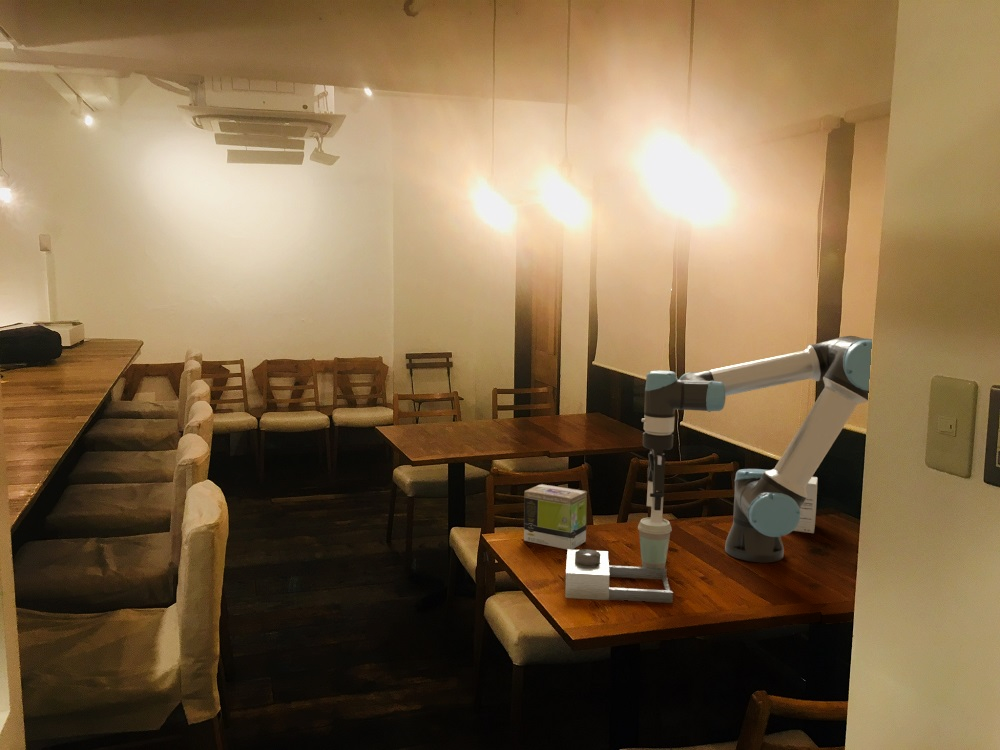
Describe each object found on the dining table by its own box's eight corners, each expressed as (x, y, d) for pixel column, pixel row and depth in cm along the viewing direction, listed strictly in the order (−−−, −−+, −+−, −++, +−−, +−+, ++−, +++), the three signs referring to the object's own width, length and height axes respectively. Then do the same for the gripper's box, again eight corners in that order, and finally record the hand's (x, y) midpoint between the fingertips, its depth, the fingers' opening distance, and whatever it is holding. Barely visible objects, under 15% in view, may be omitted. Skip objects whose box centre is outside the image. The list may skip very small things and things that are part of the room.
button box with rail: (665, 577, 200) (667, 546, 199) (672, 603, 184) (673, 570, 183) (567, 572, 202) (567, 541, 201) (565, 597, 187) (566, 564, 186)
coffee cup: (670, 574, 202) (672, 528, 200) (635, 571, 204) (637, 525, 202) (670, 562, 210) (672, 517, 209) (637, 559, 212) (638, 515, 210)
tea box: (586, 541, 226) (588, 490, 224) (570, 551, 217) (571, 498, 215) (540, 531, 234) (541, 482, 232) (522, 541, 225) (523, 490, 223)
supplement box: (783, 521, 246) (786, 473, 245) (815, 525, 243) (818, 476, 241) (781, 529, 238) (784, 480, 236) (814, 533, 235) (817, 484, 233)
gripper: (640, 422, 215) (636, 499, 218) (646, 441, 190) (642, 528, 193) (668, 423, 214) (664, 500, 217) (679, 443, 190) (674, 530, 192)
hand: (654, 513), depth 205 cm, fingers open, 13 cm apart
